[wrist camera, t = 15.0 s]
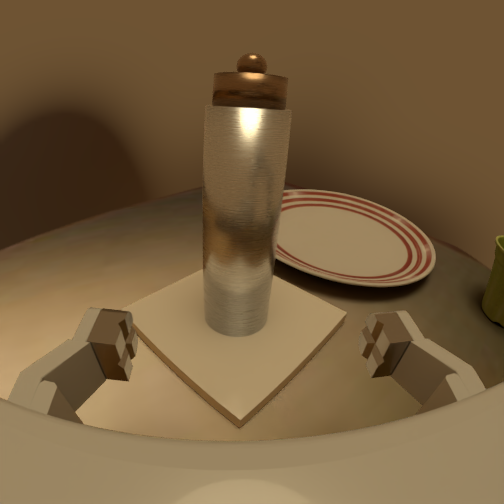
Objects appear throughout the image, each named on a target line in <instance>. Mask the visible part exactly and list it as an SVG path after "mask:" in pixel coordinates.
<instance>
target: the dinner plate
mask: <svg viewBox="0 0 504 504" xmlns="http://www.w3.org/2000/svg"><path fill="white" fill-rule="evenodd" d="M275 258H276V259H278V260H279V261H281V262H283V263H285V264H288V265H290V266H292V267H294V268H296V269H298V270H301V271H303V272H306V273H309V274H311V275H314V276H318V277H321V278H324V279H327V280H331V281H336V282H340V283H345V284H351V285H357V286H367V287H395V286H402V285H407V284H411V283H414V282H417V281H419V280H421V279H423V278H424V277H426V276H427V275H428V274H429V273H430V272H431V271H432V269H433V268H434V265H435V261H436V255H435V250H434V247H433V245H432V243H431V242H430V240H429V239H428V237H427V236H426V235H425V234H424V233H423V232H422V231H421V230H420V229H419V228H418V227H417V226H416V225H414V224H413V223H412V222H410V221H409V220H407V219H406V218H404V217H403V216H401V215H399V214H397V213H396V212H394V211H392V210H390V209H388V208H386V207H383V206H381V205H379V204H376V203H374V202H371V201H368V200H365V199H362V198H359V197H355V196H351V195H347V194H342V193H337V192H330V191H322V190H285V191H283V199H282V208H281V216H280V225H279V233H278V241H277V249H276V257H275Z"/></svg>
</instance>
